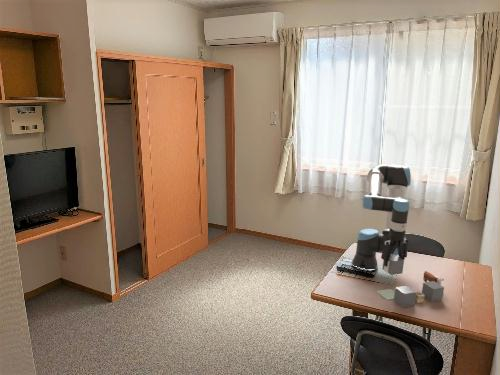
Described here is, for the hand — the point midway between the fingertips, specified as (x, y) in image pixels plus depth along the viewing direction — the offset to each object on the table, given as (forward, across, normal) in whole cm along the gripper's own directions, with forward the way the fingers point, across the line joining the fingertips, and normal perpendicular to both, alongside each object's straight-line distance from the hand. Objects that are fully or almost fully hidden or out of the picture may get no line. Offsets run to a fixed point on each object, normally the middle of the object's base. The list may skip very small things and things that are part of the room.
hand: (392, 270), depth 200 cm
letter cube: (+14, +11, -9) cm, 20 cm away
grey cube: (+14, +20, -9) cm, 26 cm away
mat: (+14, 0, 0) cm, 14 cm away
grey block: (+14, +2, -9) cm, 17 cm away
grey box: (0, 0, 0) cm, 0 cm away
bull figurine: (+14, +29, 0) cm, 32 cm away
